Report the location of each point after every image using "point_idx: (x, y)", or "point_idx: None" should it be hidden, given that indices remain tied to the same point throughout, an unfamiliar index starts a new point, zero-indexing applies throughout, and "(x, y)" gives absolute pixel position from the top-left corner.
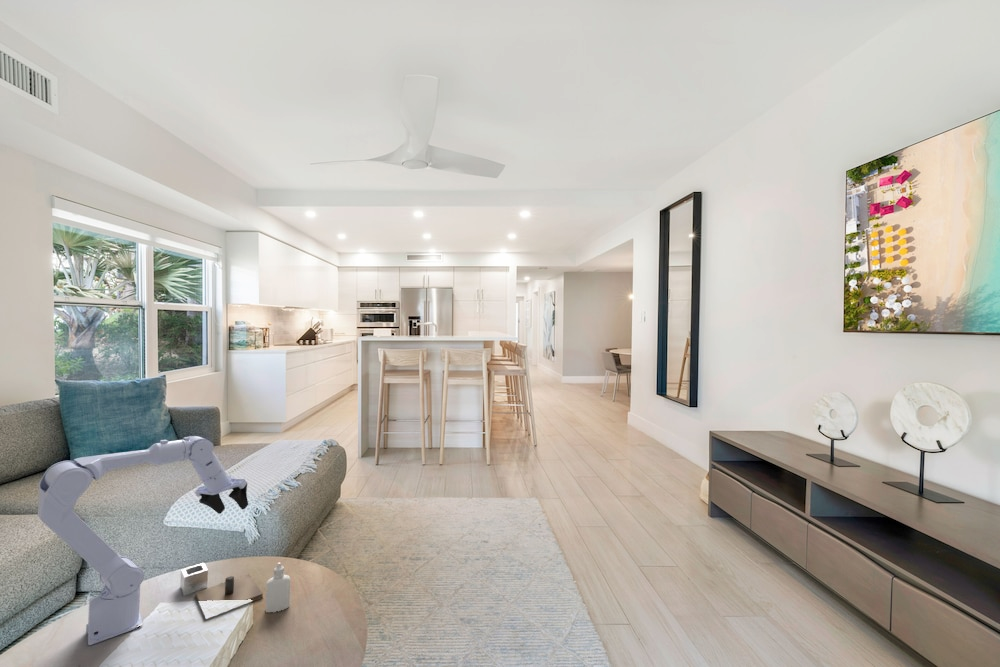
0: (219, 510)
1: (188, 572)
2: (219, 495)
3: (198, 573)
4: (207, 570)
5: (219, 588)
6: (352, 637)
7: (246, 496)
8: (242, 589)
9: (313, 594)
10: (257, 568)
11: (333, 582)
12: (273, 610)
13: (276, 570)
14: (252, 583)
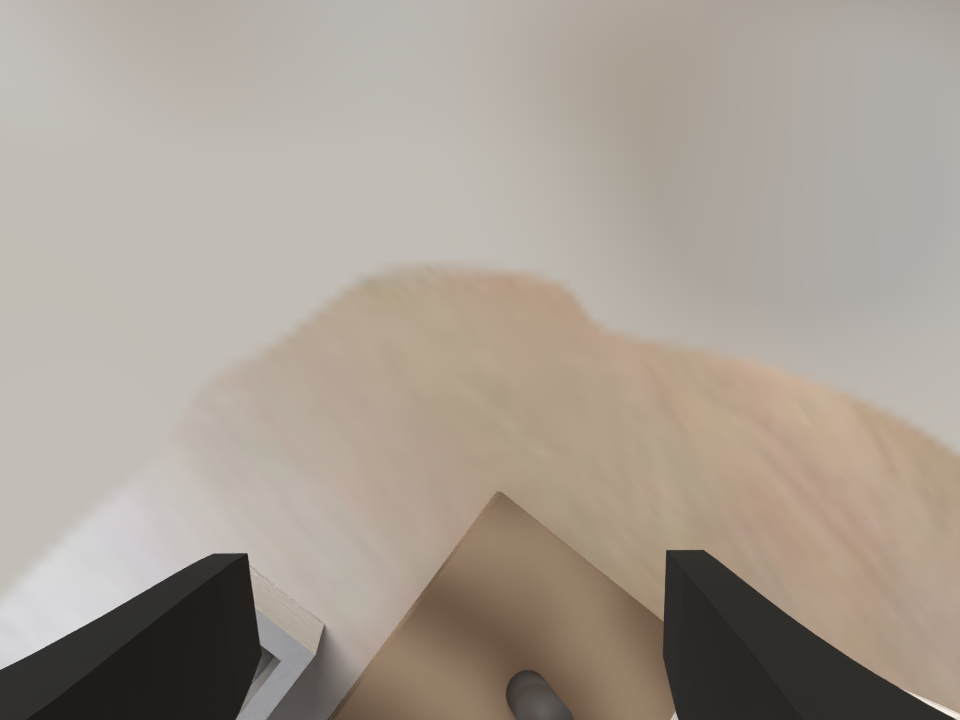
0: (236, 694)
1: None
2: (38, 706)
3: (276, 702)
4: (313, 655)
5: (438, 665)
6: None
7: (806, 640)
8: (575, 645)
9: (907, 570)
10: (476, 390)
11: (934, 457)
12: None
13: None
14: (588, 578)
